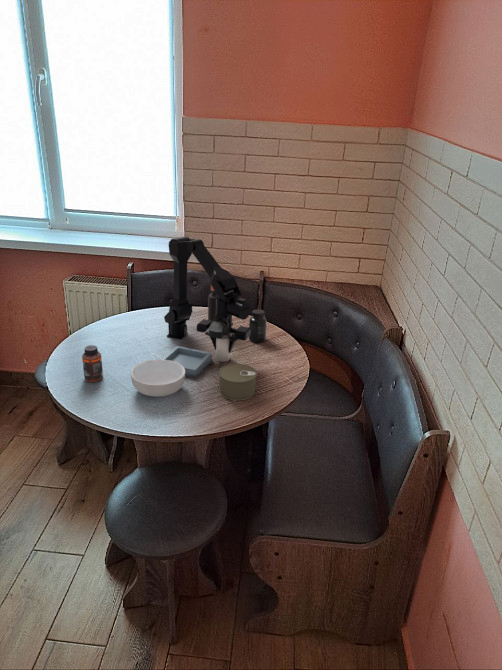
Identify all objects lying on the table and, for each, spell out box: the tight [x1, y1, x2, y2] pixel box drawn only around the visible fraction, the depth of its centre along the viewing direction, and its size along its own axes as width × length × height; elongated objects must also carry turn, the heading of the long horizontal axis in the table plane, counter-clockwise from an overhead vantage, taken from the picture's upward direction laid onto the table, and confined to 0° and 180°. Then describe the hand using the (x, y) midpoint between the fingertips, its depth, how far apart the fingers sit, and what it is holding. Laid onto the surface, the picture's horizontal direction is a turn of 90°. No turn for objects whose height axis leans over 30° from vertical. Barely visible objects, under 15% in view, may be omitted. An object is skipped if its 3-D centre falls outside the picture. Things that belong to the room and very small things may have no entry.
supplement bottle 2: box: [248, 309, 268, 344], centre depth 195 cm, size 7×7×12 cm
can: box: [218, 363, 258, 401], centre depth 159 cm, size 12×12×7 cm
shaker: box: [215, 333, 231, 363], centre depth 179 cm, size 5×5×10 cm
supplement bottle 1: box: [81, 344, 104, 383], centre depth 161 cm, size 6×6×11 cm
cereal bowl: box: [130, 358, 186, 398], centre depth 157 cm, size 17×17×7 cm
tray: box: [161, 345, 213, 379], centre depth 174 cm, size 14×14×3 cm
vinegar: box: [207, 284, 216, 321], centre depth 199 cm, size 7×7×20 cm
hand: (222, 350), depth 179 cm, fingers closed on shaker, 5 cm apart
